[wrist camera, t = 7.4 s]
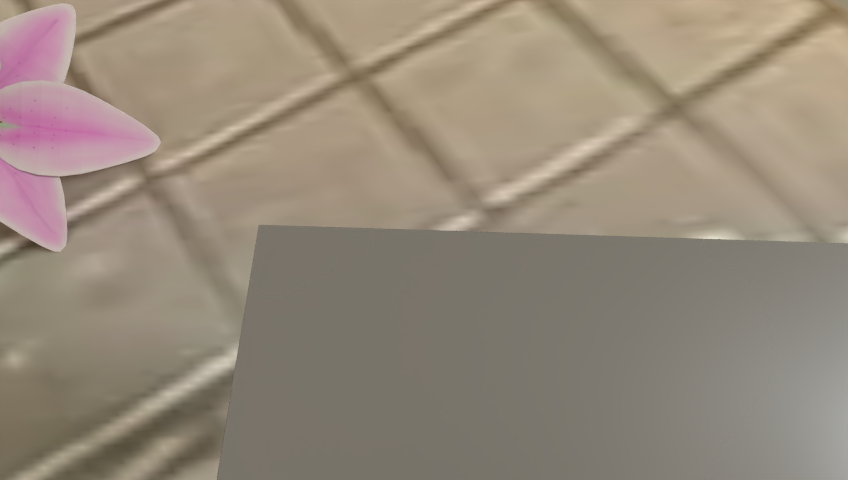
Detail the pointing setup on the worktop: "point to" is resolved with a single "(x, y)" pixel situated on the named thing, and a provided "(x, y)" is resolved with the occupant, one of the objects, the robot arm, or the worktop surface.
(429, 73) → the worktop surface
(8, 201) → the lily
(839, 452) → the tall metal block
